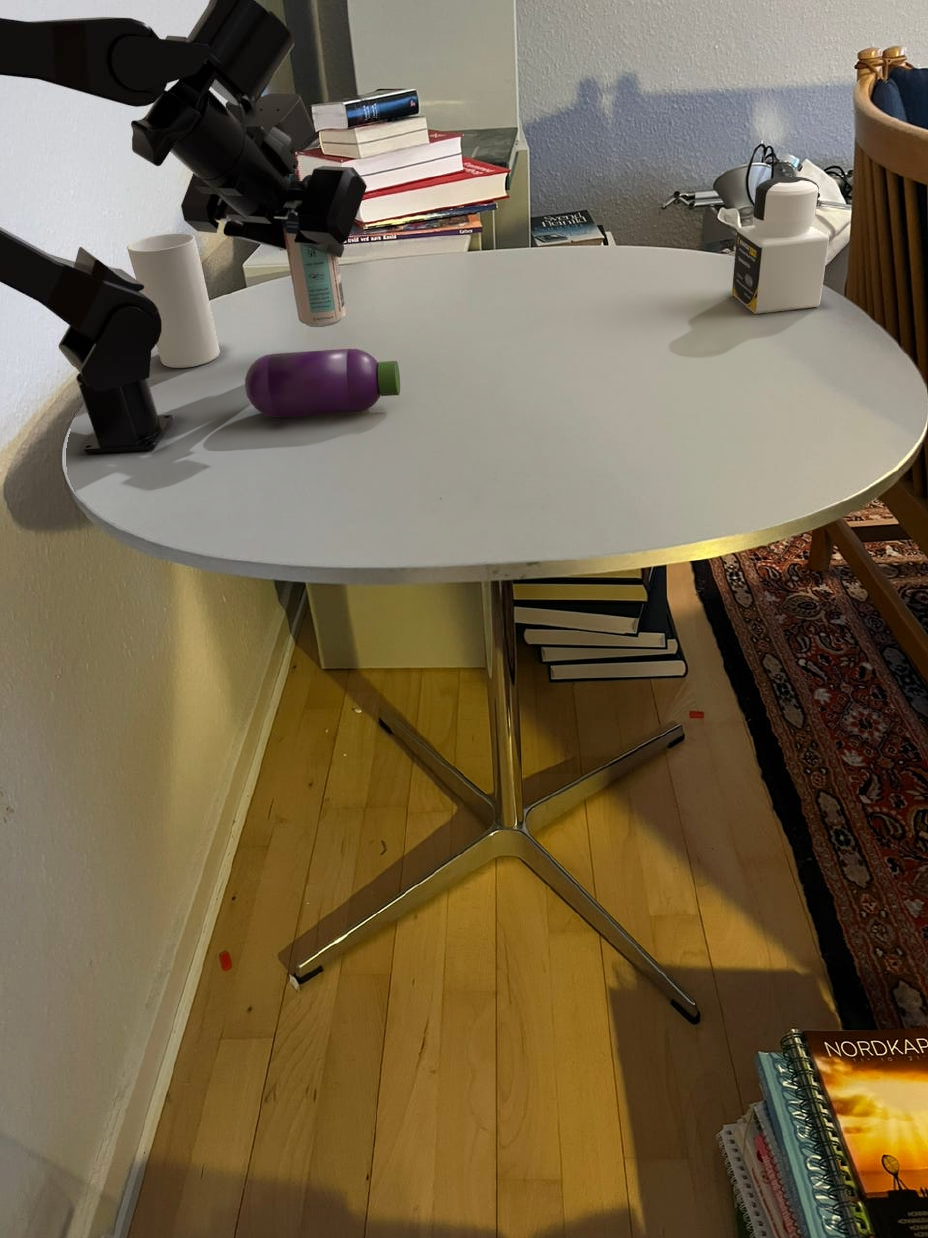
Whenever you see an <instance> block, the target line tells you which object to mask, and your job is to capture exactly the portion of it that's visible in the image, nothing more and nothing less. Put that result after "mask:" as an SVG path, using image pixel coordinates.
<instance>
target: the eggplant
mask: <svg viewBox="0 0 928 1238" xmlns="http://www.w3.org/2000/svg"><path fill="white" fill-rule="evenodd" d="M244 389H245V393H246V396H247V399H248V400H249V402H250V404H251V405H252V406H253V407H254V409H256V410H257V411H258V412H259V413H261V414H263V415H265V416H269V417H273V418H291V417H305V416H308V417H309V416H322V415H323V416H324V415H338V414H355V413H362V412H364V411H368V409H370V408H371V407H373V406H374V405H376V403H377V402H378V401H379V399H380V398H381V397H393V396H400V394H401V376H400V367H399V363H398V361H397V360H387V361H377V359H376V358H375V357H374V356H373V355H371V354H370V353H368V352H366V351H365V350H362V349H358V348H339V349H324V350H323V349H322V350H309V351H295V352H279V353H270V354H266V355H263V356H260V357H258V358H257V359H256V360H254V361H253V363H252V364H251V365H250V366H249V368H248V370H247V372H246V374H245V379H244Z"/></svg>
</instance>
